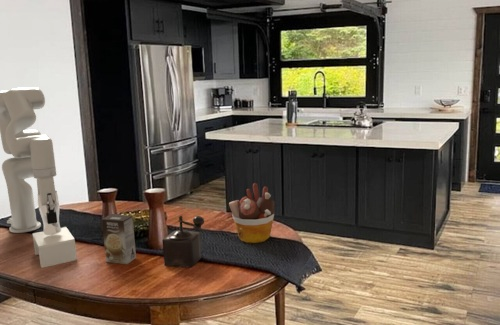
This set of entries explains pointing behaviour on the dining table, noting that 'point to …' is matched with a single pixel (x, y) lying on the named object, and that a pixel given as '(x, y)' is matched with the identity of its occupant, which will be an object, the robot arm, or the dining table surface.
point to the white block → (55, 247)
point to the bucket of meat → (253, 216)
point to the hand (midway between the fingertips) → (50, 220)
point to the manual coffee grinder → (183, 245)
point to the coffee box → (119, 238)
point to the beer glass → (48, 228)
